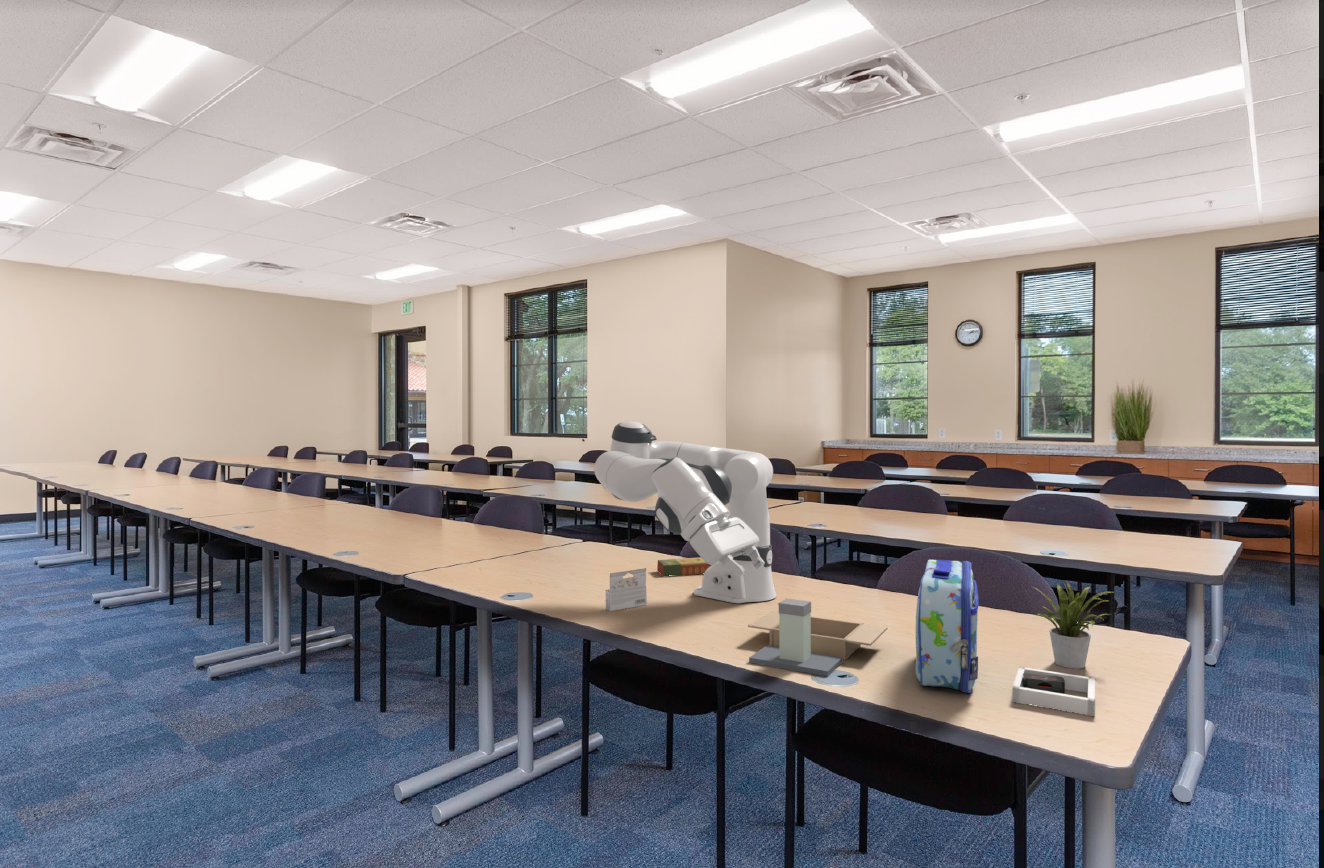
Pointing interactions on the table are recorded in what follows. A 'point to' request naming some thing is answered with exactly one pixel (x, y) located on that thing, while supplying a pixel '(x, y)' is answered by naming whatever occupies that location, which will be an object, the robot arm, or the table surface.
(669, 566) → the carton
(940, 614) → the lunch box
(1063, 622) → the house plant
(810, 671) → the slate mat
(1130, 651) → the table surface
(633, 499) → the robot arm
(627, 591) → the ink cartridge box
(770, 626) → the open cardboard box
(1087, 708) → the dish
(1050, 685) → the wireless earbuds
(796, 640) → the block
